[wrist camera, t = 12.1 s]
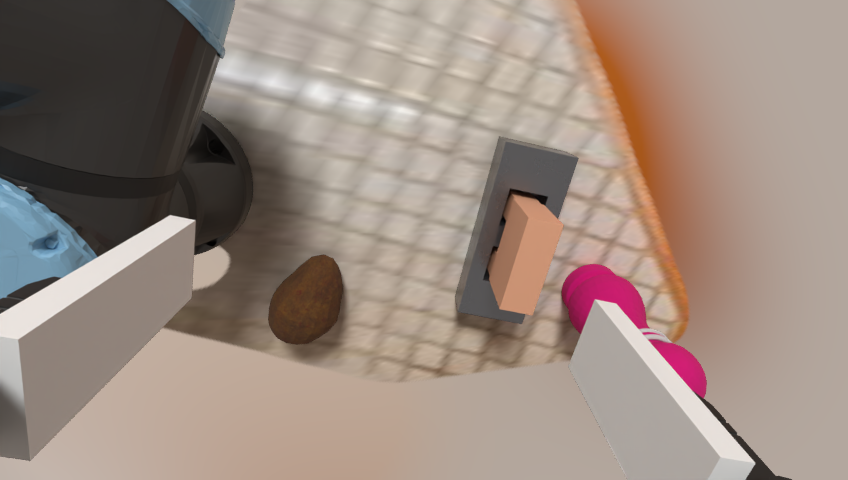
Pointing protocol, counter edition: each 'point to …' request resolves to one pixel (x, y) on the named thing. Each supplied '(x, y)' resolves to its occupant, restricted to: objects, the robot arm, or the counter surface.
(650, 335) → the pepper mill
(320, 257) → the potato
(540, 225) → the peach wedge-cut bar
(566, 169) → the rail
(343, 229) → the counter surface
